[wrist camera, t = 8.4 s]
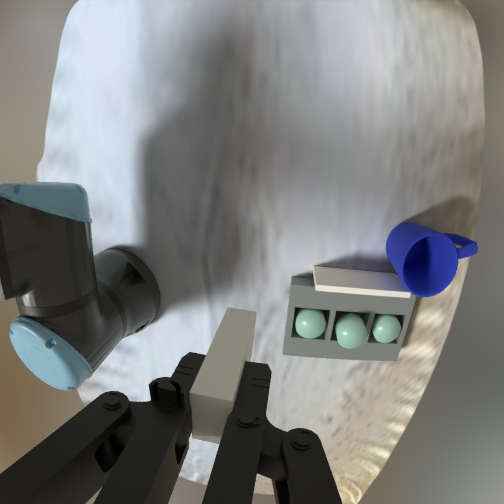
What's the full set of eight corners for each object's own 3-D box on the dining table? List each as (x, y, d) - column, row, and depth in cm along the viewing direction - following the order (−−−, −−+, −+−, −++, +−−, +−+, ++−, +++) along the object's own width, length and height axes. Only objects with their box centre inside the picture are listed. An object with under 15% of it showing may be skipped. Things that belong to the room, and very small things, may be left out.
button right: (367, 332, 46) (370, 342, 43) (373, 308, 44) (377, 317, 42) (391, 333, 45) (396, 343, 42) (398, 309, 44) (404, 318, 41)
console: (283, 344, 49) (282, 354, 46) (291, 276, 45) (291, 284, 42) (392, 350, 47) (396, 360, 44) (410, 287, 43) (416, 295, 40)
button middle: (332, 336, 45) (334, 347, 42) (337, 311, 43) (340, 321, 40) (360, 338, 44) (363, 349, 41) (366, 313, 43) (370, 323, 40)
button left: (294, 326, 47) (293, 337, 44) (297, 302, 46) (297, 311, 43) (321, 329, 47) (322, 339, 44) (326, 304, 45) (327, 314, 42)
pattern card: (312, 272, 45) (315, 292, 38) (313, 265, 44) (316, 284, 38) (394, 280, 43) (409, 299, 37) (396, 273, 43) (411, 292, 36)
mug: (451, 256, 41) (482, 279, 31) (384, 275, 43) (404, 305, 34) (445, 205, 39) (479, 218, 29) (374, 223, 41) (396, 242, 32)
